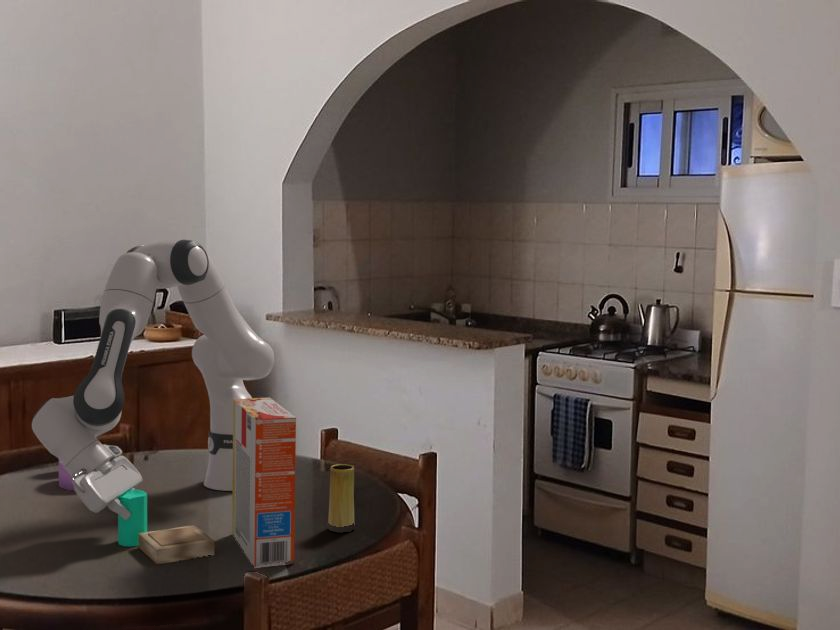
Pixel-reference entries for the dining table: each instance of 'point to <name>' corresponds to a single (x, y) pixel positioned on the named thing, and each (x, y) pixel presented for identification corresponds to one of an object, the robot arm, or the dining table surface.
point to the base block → (176, 544)
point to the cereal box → (264, 480)
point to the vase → (341, 495)
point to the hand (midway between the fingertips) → (135, 512)
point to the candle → (132, 517)
